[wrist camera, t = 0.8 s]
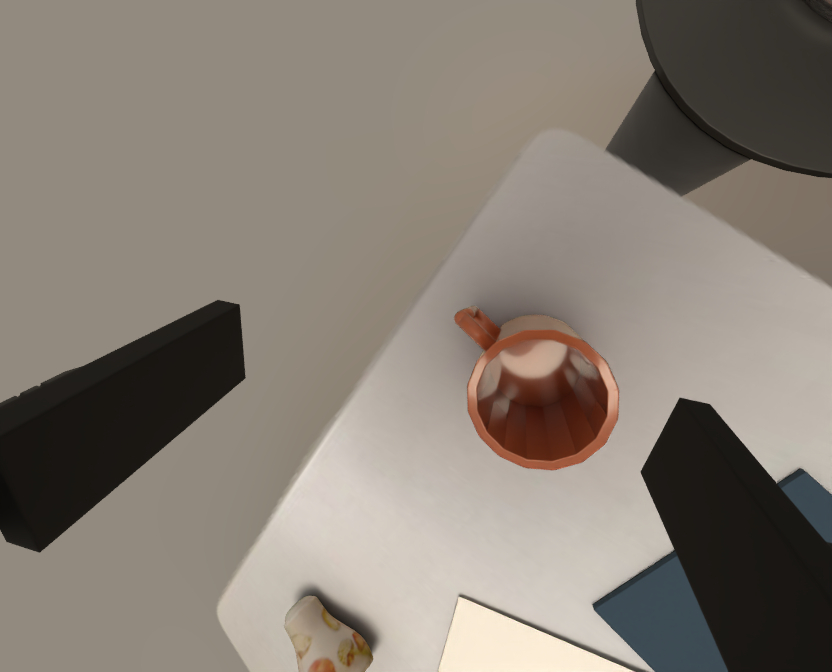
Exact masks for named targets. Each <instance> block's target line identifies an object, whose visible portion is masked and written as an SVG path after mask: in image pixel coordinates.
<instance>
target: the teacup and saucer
mask: <svg viewBox="0 0 832 672" xmlns="http://www.w3.org/2000/svg"><path fill="white" fill-rule="evenodd" d="M438 672H634V671H632V670H630V669H627V668H625V667H623V666H620V665H618V664H616V663H613V662H611V661H609V660H606V659H604V658H602V657H599V656H597V655H595V654H592V653H590V652H588V651H585V650H583V649H581V648H578V647H576V646H574V645H571V644H569V643H567V642H564V641H562V640H560V639H557V638H555V637H553V636H550V635H548V634H546V633H543V632H541V631H539V630H536V629H534V628H532V627H529V626H527V625H525V624H522V623H520V622H518V621H515V620H513V619H511V618H508V617H506V616H504V615H501V614H499V613H497V612H494V611H492V610H490V609H487V608H485V607H483V606H480V605H478V604H476V603H473V602H471V601H469V600H466V599H464V598H462V597H459V599H458V602H457V606H456V610H455V613H454V617H453V620H452V624H451V627H450V631H449V634H448V638H447V641H446V645H445V648H444V652H443V656H442V659H441V663H440V666H439V670H438Z"/></svg>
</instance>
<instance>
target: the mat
mask: <svg viewBox="0 0 832 672" xmlns="http://www.w3.org/2000/svg"><path fill="white" fill-rule="evenodd" d="M778 486H779V487H780V488H781V489H782V490H783V491H784V493H785V494H786V495H787V496H788V497H789V499H790V500H791V501H792V502H793V503H794V505H795V506H796V507H797V508H798V509H799V510H800V512H801V513H802V514H803V515H804V516H805V518H806V519H807V520H808V521H809V522H810V523H811V525H812V526H813V527H814V528H815V529H816V531H817V532H818V533H819V534H820V535H821V537H822V538H823V539H824V540H825V541H826V542H829V543H832V495H831V494H830V493H829V492H828V491H827V490H826V489H824V488H823V487H822V486H821V485H820V484H819V483H818V482H817V481H816V480H814V479H813V478H812V477H811V476H810V475H809V474H808V473H807V472H805V471H804V470H802V469H799V470H798V471H796V472H795V473H793V474H792V475H790V476H789V477H787V478H785V479H784V480H782V481H781V482H779V483H778ZM593 608H594V610H595V611H596V612H597V613H598V614H599V615H600V616H601V617H602V618H603V619H604V620H605V621H606V622H607V624H608V625H609V626H610V627H611V628H612V629H613V630H614V631H615V632H616V633H617V634H618V635H619V636H620V637H621V638H622V639H623V640H624V641H625V642H626V643H627V644H628V645H629V646H630V647H631V648H632V649H633V650H634V651H635V652H636V653H637V654H638V655H639V656H640V657H641V658H642V659H643V660H644V661H645V662H646V663H647V664H648V665H649V666H650V667H651V668H652V669H653V670H654V671H655V672H728V670H727V668H726V666H725V663H724V661H723V659H722V656H721V654H720V652H719V650H718V647H717V645H716V643H715V640H714V638H713V636H712V634H711V631H710V629H709V627H708V625H707V622H706V620H705V618H704V615H703V613H702V611H701V609H700V606H699V604H698V602H697V599H696V597H695V595H694V593H693V590H692V588H691V586H690V584H689V581H688V579H687V577H686V574H685V572H684V570H683V568H682V565H681V563H680V561H679V559H678V556H677V554H676V552H675V551H674V552H672V553H671V554H669V555H668V556H666V557H665V558H663V559H662V560H660V561H659V562H657V563H656V564H654V565H653V566H651V567H650V568H648V569H646V570H645V571H643V572H642V573H640V574H639V575H637V576H636V577H634V578H633V579H631V580H630V581H628V582H627V583H625V584H624V585H622V586H620V587H619V588H617V589H616V590H614V591H613V592H611V593H610V594H608V595H607V596H605V597H604V598H602V599H601V600H599V601H598V602H596V603H594V604H593Z"/></svg>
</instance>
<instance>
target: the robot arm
mask: <svg viewBox="0 0 832 672" xmlns="http://www.w3.org/2000/svg"><path fill="white" fill-rule="evenodd" d="M803 1H804V2H805V3H806V4H807V5H808V6H809V7H810V8H811V9H812V10H813V11H815V12H816V13H817V14H818V15H820V16H821V17H823V18H824V19H826V20H827V21H829V22H831V23H832V0H803ZM244 379H245V368H244V355H243V341H242V329H241V317H240V305H239V304H234V303H230V302H225V301H220V300H217V301H215V302H213V303H211V304H209V305H206V306H204V307H202V308H200V309H198V310H196V311H194V312H192V313H190V314H188V315H186V316H184V317H182V318H180V319H178V320H176V321H174V322H172V323H170V324H168V325H166V326H164V327H162V328H160V329H158V330H156V331H154V332H152V333H150V334H148V335H145V336H144V337H142V338H139V339H138V340H135V341H133V342H131V343H129V344H127V345H125V346H123V347H121V348H119V349H117V350H115V351H113V352H111V353H109V354H107V355H105V356H103V357H101V358H99V359H97V360H95V361H93V362H91V363H89V364H87V365H85V366H82V367H79V368H75V369H72V370H69V371H65V372H63V373H61V374H59V375H57V376H55V377H53V378H51V379H49V380H47V381H45V382H43V383H41V385H40V386H34V387H32V388H30V389H28V390H26V391H24V392H22V393H20V396H18V397H17V396H14V397H12V398H10V399H8V400H6V401H3V402H2V403H0V530H1V532H2V534H3V536H4V538H5V540H6V541H7V542H9V543H12V544H15V545H18V546H21V547H24V548H28V549H30V550H33V551H37V552H41V551H42V550H43V549H45V548H46V547H47V546H48V545H49V544H50V543H52V542H53V541H54V540H55V539H56V538H58V537H59V536H60V535H61V534H62V533H63V532H64V531H66V530H67V529H68V528H69V527H70V526H72V525H73V524H74V523H75V522H76V521H77V520H79V519H80V518H81V517H82V516H83V515H85V514H86V513H87V512H88V511H89V510H90V509H92V508H93V507H94V506H95V505H96V504H97V503H99V502H100V501H101V500H102V499H103V498H105V497H106V496H107V495H108V494H109V493H111V491H113V490H114V489H115V488H116V487H118V486H119V485H120V484H121V483H122V482H124V481H125V480H126V479H127V478H128V477H129V476H130V475H132V474H133V473H134V472H135V471H136V470H137V469H139V468H140V467H141V466H142V465H144V464H145V463H146V462H147V461H148V460H149V459H150V458H152V457H153V456H154V455H155V454H156V453H158V452H159V451H160V450H161V449H162V448H164V447H165V446H166V445H167V444H168V443H169V442H171V441H172V440H173V439H174V438H175V437H176V436H178V435H179V434H180V433H181V432H182V431H184V430H185V429H186V428H187V427H188V426H190V425H191V424H192V423H193V422H194V421H195V420H197V419H198V418H199V417H200V416H201V415H202V414H204V413H205V412H206V411H207V410H208V409H209V408H211V407H212V406H213V405H214V404H215V403H217V402H218V401H219V400H220V399H221V398H222V397H224V396H225V395H226V394H227V393H228V392H230V391H231V390H232V389H233V388H234V387H235V386H237V385H238V384H239V383H240V382H241V381H243V380H244ZM641 474H642V477H643V479H644V481H645V483H646V486H647V488H648V490H649V492H650V495H651V497H652V499H653V502H654V504H655V506H656V508H657V511H658V513H659V515H660V518H661V520H662V522H663V524H664V527H665V529H666V531H667V533H668V536H669V538H670V540H671V543H672V545H673V547H674V549H675V552H676V554H677V556H678V559H679V561H680V563H681V565H682V568H683V570H684V572H685V574H686V577H687V579H688V581H689V584H690V586H691V588H692V590H693V593H694V595H695V597H696V599H697V602H698V604H699V606H700V609H701V611H702V613H703V615H704V618H705V620H706V622H707V625H708V627H709V629H710V631H711V634H712V636H713V638H714V640H715V643H716V645H717V647H718V650H719V652H720V654H721V656H722V659H723V661H724V663H725V666H726V668H727V670H728V672H832V543H829V542H826V541H825V540H824V539H823V538H822V537H821V535H820V534H819V533H818V532H817V531H816V529H815V528H814V527H813V526H812V525H811V523H810V522H809V521H808V520H807V519H806V518H805V516H804V515H803V514H802V513H801V512H800V510H799V509H798V508H797V507H796V506H795V505H794V503H793V502H792V501H791V500H790V499H789V497H788V496H787V495H786V494H785V493H784V491H783V490H782V489H781V488H780V487H779V486H778V484H777V483H776V482H775V481H774V480H773V478H772V477H771V476H770V475H769V474H768V473H767V471H766V470H765V469H764V468H763V467H762V465H761V464H760V463H759V462H758V461H757V460H756V458H755V457H754V456H753V455H752V454H751V452H750V451H749V450H748V449H747V448H746V446H745V445H744V444H743V443H742V442H741V441H740V439H739V438H738V437H737V436H736V435H735V433H734V432H733V431H732V430H731V429H730V428H729V426H728V425H727V424H726V423H725V422H724V420H723V419H722V418H721V417H720V416H719V414H718V413H717V412H716V411H715V410H714V409H713V407H712V406H711V405H710V404H707V403H702V402H697V401H693V400H688V399H683V398H679V400H678V402H677V404H676V406H675V408H674V409H673V411H672V413H671V415H670V417H669V419H668V421H667V423H666V425H665V427H664V428H663V430H662V432H661V434H660V436H659V438H658V440H657V442H656V444H655V445H654V447H653V449H652V451H651V453H650V455H649V457H648V459H647V461H646V463H645V464H644V466H643V468H642V470H641Z"/></svg>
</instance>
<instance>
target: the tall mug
mask: <svg viewBox="0 0 832 672" xmlns="http://www.w3.org/2000/svg"><path fill="white" fill-rule="evenodd" d="M454 321H455V323H456V324H457V325H458V326H459V327H460V328H461V329H462V330H463V331H464V332H465V333H466V334H467V335H468V336H469V337H471V338H472V339H473V340H474V341H475V342H476V343H477V344H478V345H479V346H480V347H481V348H482V349H483V351H482V353H481V355H480V357H479V358H478V360H477V362H476V365H475V367H474V370H473V372H472V374H471V377H470V379H469V382H468V385H467V399H468V413H469V415H470V417H471V420H472V422H473V424H474V426H475V429H476V431H477V433H478V435H479V437H480V438H481V439H482V440H483V441H484V442H485V443H486V444H487V445H488V446H489V447H490V448H491V449H492V450H493V451H494V452H495V453H496V454H497V455H499V456H500V457H502V458H504V459H507V460H509V461H511V462H513V463H515V464H517V465H520V466H522V467H524V468H531V469H544V470H557V469H561V468H564V467H568V466H571V465H575V464H578V463H581V462H584V461H585V460H586V459H587V458H589V457H590V456H591V455H592V454H594V453H595V452H596V451H597V450H599V449H600V448H601V447H602V446H604V445H605V443H606V442H607V440H608V438H609V436H610V434H611V432H612V430H613V428H614V426H615V424H616V422H617V420H618V415H619V388H618V386H617V383H616V381H615V379H614V376H613V374H612V372H611V370H610V367H609V365H608V363H607V362H606V360H605V359H604V358H602V357H601V356H600V355H599V354H598V353H597V352H596V351H595V350H594V349H593V348H592V347H591V346H590V345H588V344H587V343H586V342H585V341H584V340H583V339H582V338H581V337H580V336H579V335H578V334H577V333H576V332H574V331H573V330H572V329H571V328H570V327H569V326H568V325H567V324H566V323H564V322H562V321H560V320H557V319H555V318H553V317H549V316H546V315H534V314H533V315H523V316H520V317H517V318H514V319H512V320H510V321H508V322H506V323H505V324H503V325H502V326H501V327H500V328H499V327H498V326H497V325H496V324H495V323H494V322H492V321H491V320H490V319H489V318H488V317H487V316H486V315H485V314H484V313H483V312H482V311H481V310H480V309H479V308H478V307H476V306H470V307H468V308H465V309H463V310H461V311H459V312H457V313H456V314H455V317H454Z"/></svg>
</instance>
